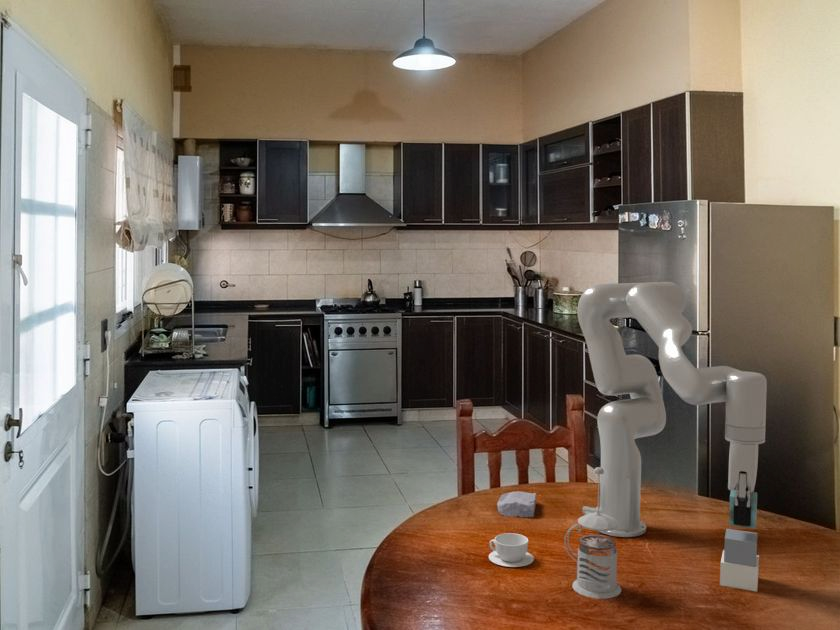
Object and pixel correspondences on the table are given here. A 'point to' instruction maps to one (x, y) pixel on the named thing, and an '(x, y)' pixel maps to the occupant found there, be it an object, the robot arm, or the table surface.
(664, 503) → the table surface
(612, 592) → the french press
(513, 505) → the stone block
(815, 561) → the table surface
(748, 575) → the block
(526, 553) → the teacup
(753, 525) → the teal pillar
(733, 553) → the tower top
